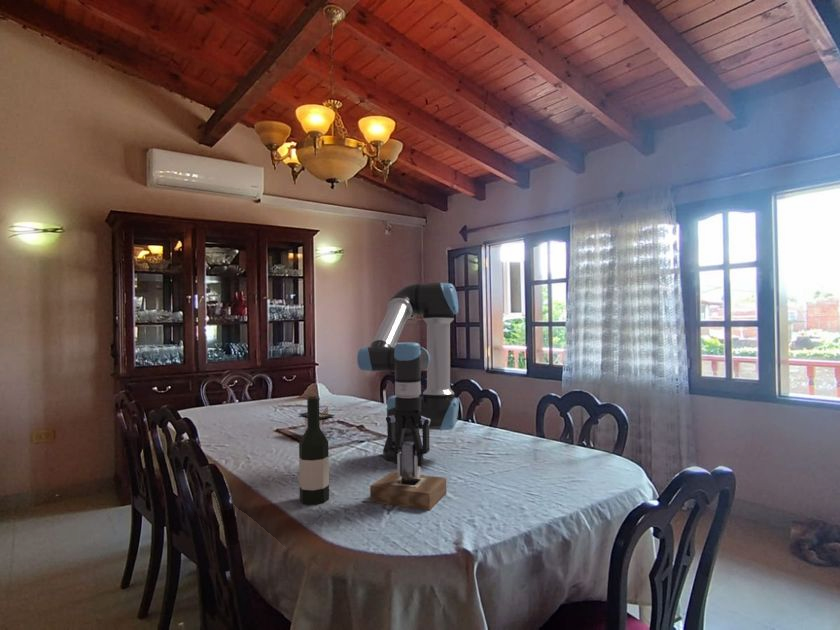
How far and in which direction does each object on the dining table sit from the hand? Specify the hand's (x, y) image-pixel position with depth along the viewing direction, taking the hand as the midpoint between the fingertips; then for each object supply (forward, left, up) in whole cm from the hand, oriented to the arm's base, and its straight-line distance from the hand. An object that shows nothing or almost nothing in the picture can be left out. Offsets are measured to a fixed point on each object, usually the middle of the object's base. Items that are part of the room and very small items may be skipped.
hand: (409, 476), depth 148 cm
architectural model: (-67, +55, -7) cm, 87 cm away
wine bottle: (-25, -11, -6) cm, 28 cm away
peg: (0, 0, -5) cm, 5 cm away
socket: (0, 0, -6) cm, 6 cm away
